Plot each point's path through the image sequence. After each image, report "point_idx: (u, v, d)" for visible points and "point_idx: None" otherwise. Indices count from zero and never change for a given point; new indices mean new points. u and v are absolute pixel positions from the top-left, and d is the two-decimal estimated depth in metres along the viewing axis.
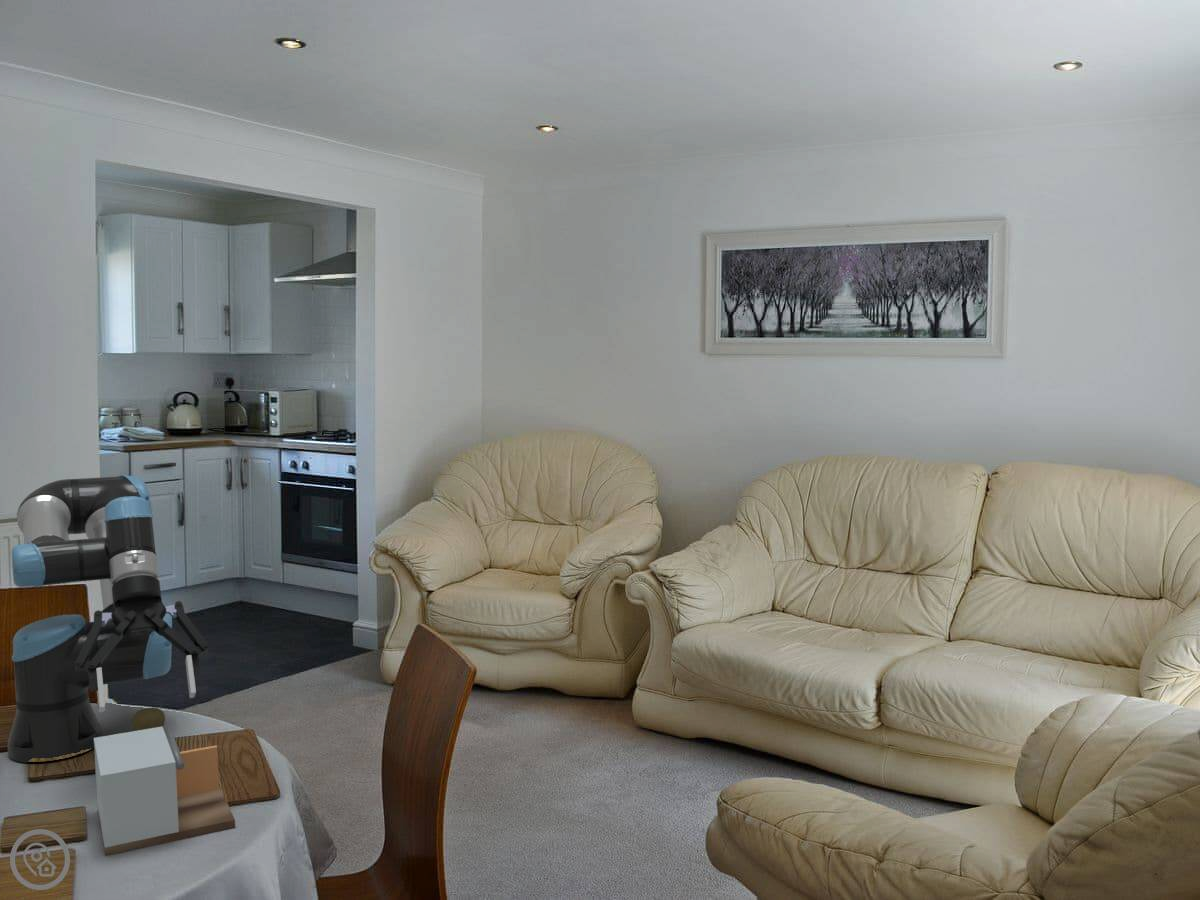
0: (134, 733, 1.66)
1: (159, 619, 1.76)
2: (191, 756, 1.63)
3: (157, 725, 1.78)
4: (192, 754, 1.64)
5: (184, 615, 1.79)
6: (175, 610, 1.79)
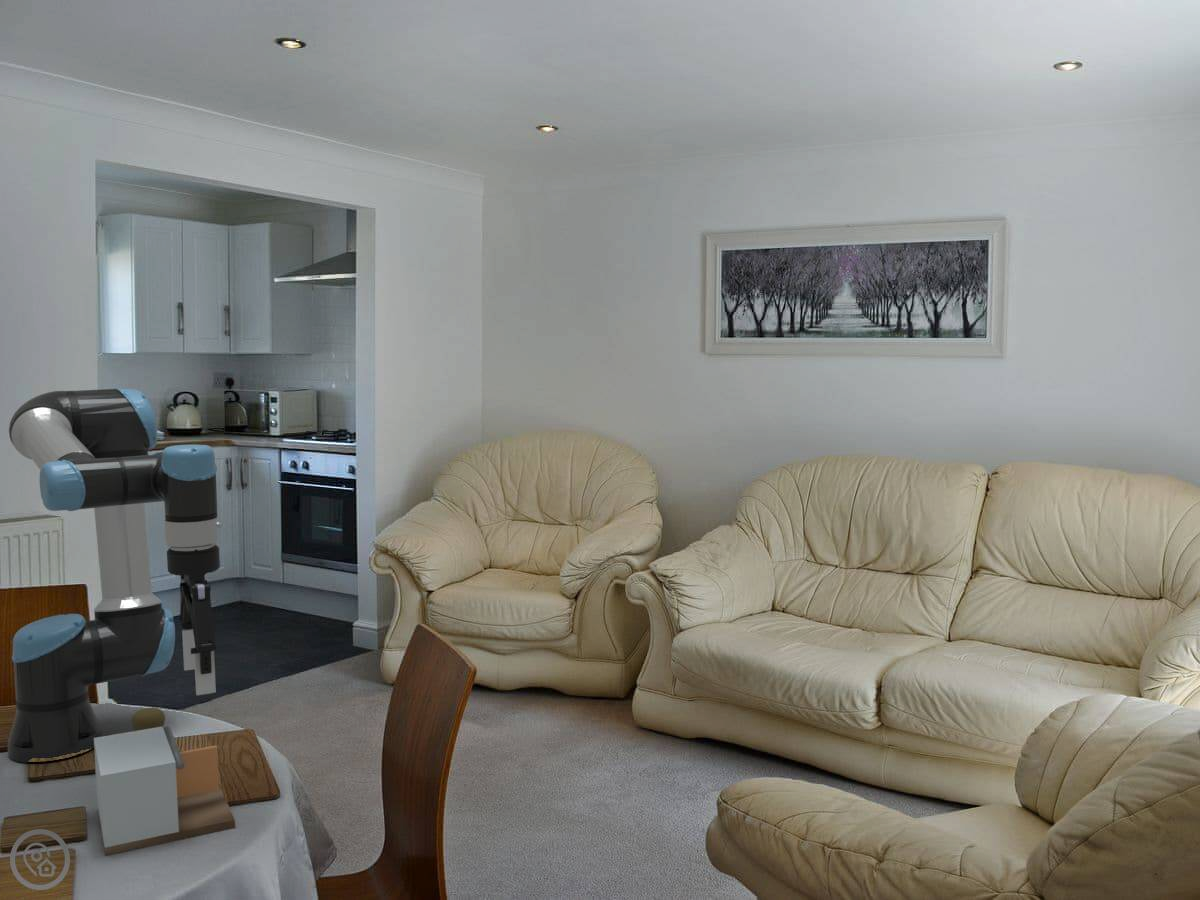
0: (134, 733, 1.66)
1: None
2: (191, 756, 1.63)
3: (157, 725, 1.78)
4: (192, 754, 1.64)
5: None
6: None
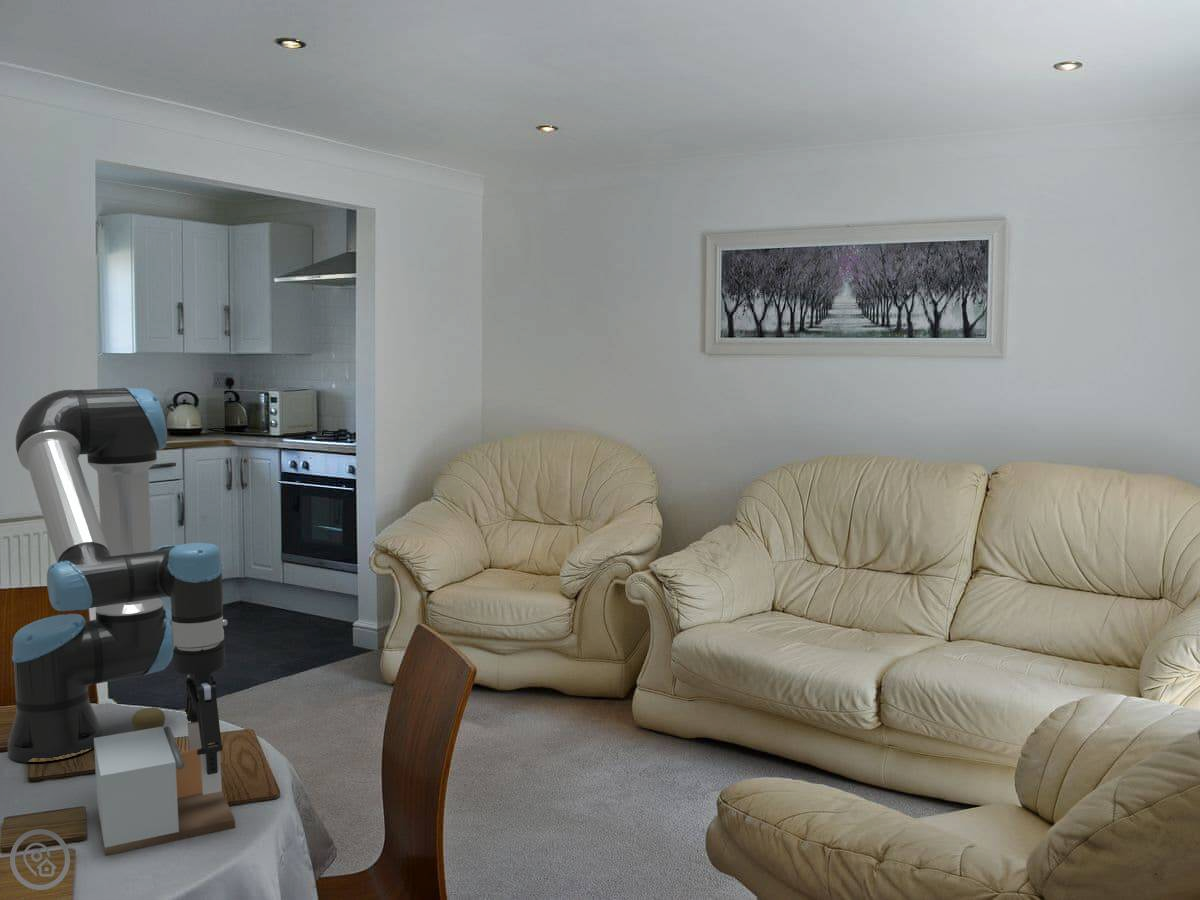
0: (134, 733, 1.66)
1: None
2: (191, 756, 1.63)
3: (157, 725, 1.78)
4: (192, 754, 1.64)
5: None
6: None
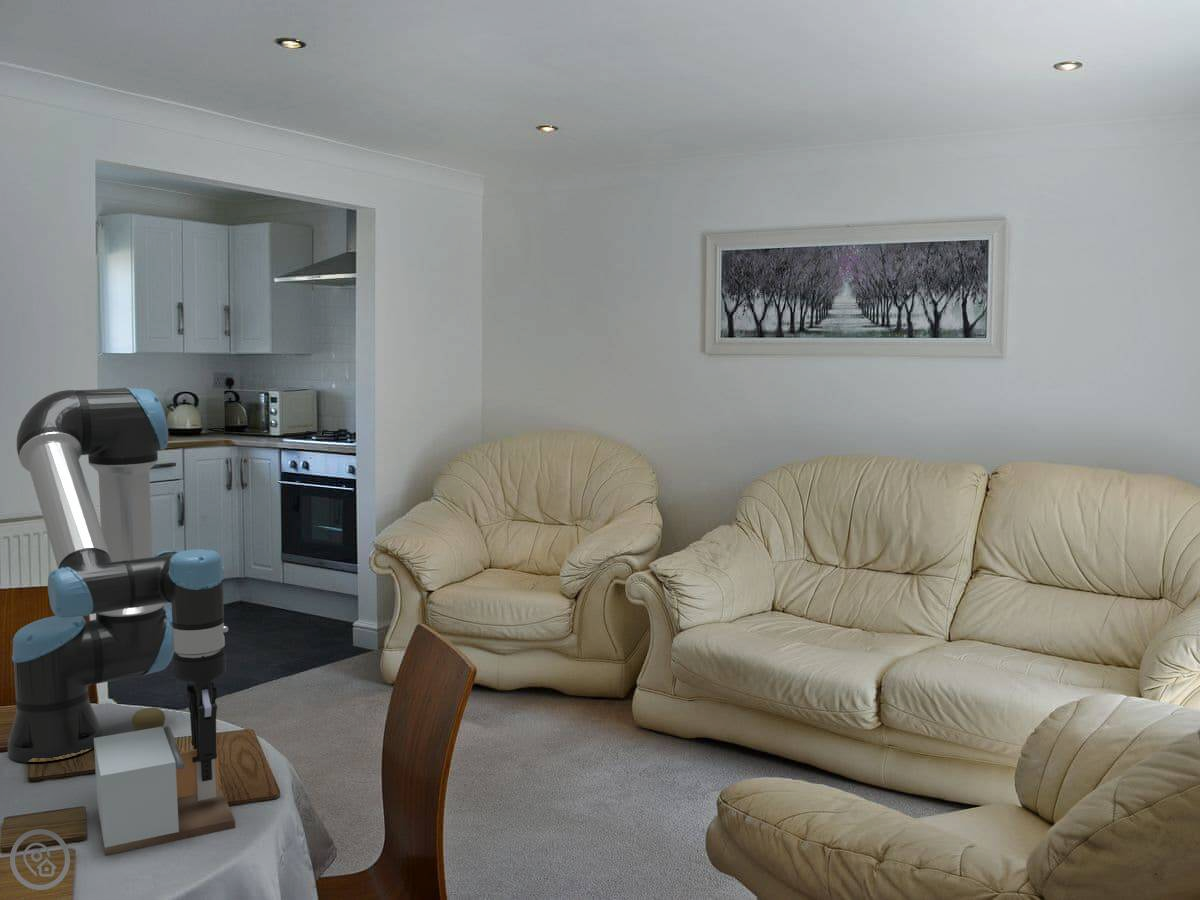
0: (134, 733, 1.66)
1: None
2: (191, 756, 1.64)
3: (157, 725, 1.78)
4: (192, 754, 1.64)
5: None
6: None
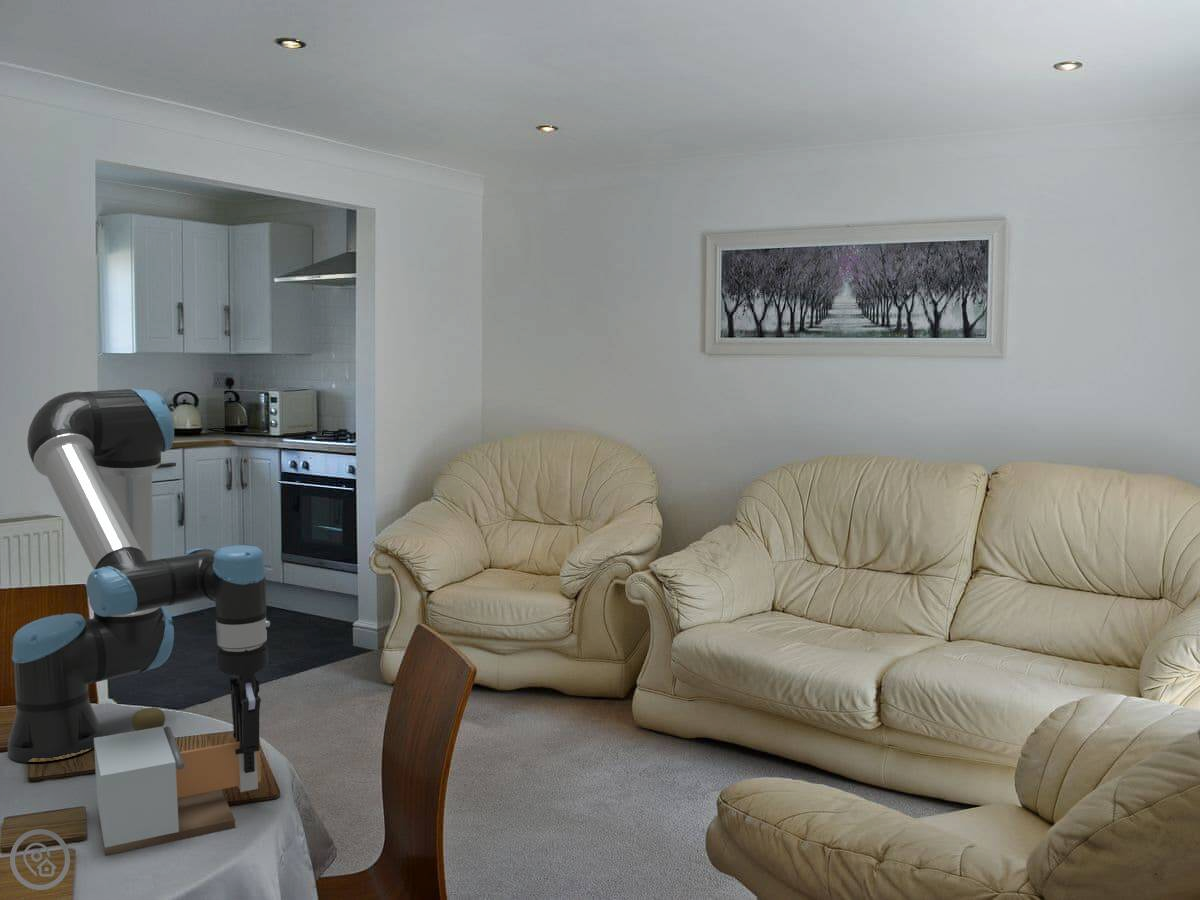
0: (134, 733, 1.66)
1: None
2: (234, 748, 1.67)
3: (157, 725, 1.78)
4: (235, 746, 1.67)
5: None
6: None
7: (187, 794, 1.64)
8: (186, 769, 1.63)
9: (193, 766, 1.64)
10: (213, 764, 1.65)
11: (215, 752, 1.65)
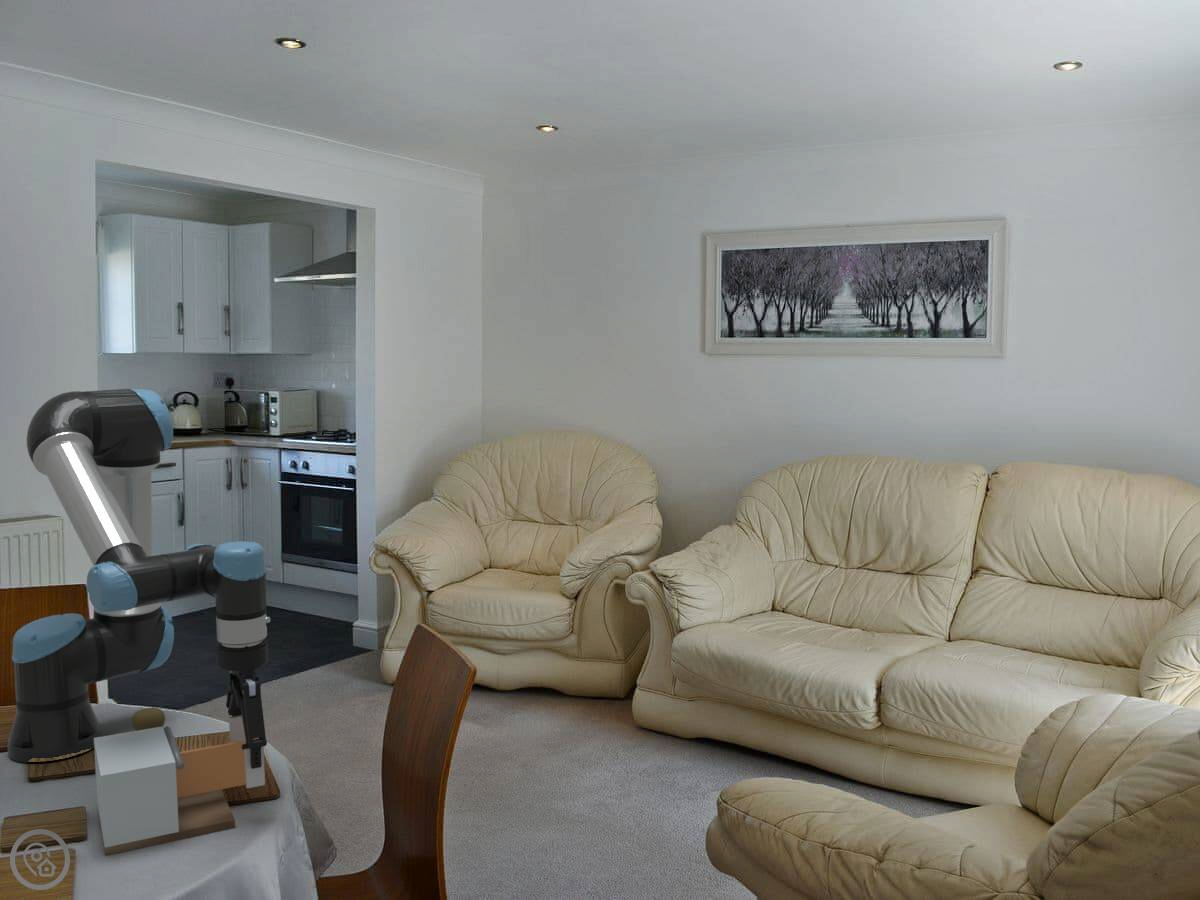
0: (134, 733, 1.66)
1: None
2: (234, 748, 1.67)
3: (157, 725, 1.78)
4: (235, 746, 1.67)
5: None
6: None
7: (187, 794, 1.64)
8: (186, 769, 1.63)
9: (193, 766, 1.64)
10: (213, 764, 1.65)
11: (215, 752, 1.65)
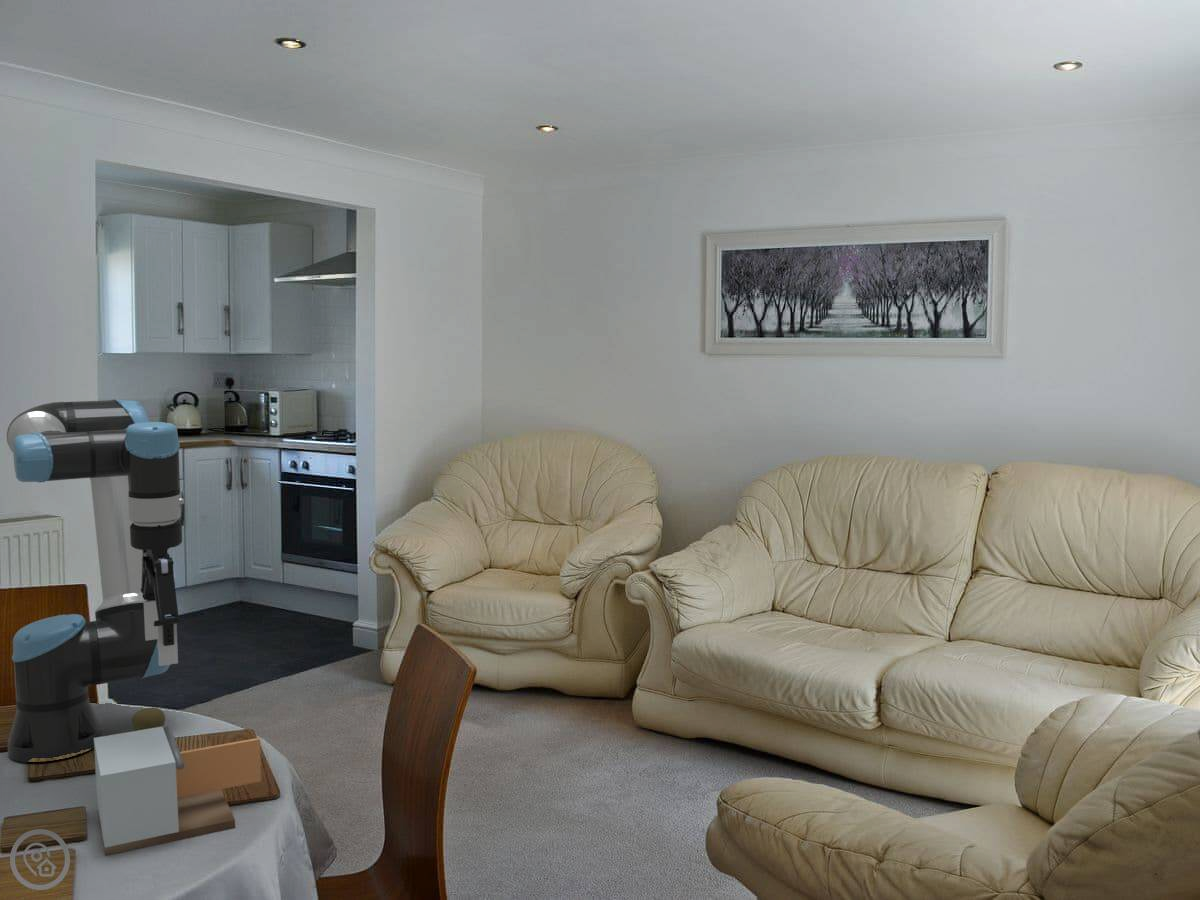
0: (134, 733, 1.66)
1: None
2: (234, 748, 1.67)
3: (157, 725, 1.78)
4: (235, 746, 1.67)
5: None
6: None
7: (187, 794, 1.64)
8: (186, 769, 1.63)
9: (193, 766, 1.64)
10: (213, 764, 1.65)
11: (215, 752, 1.65)
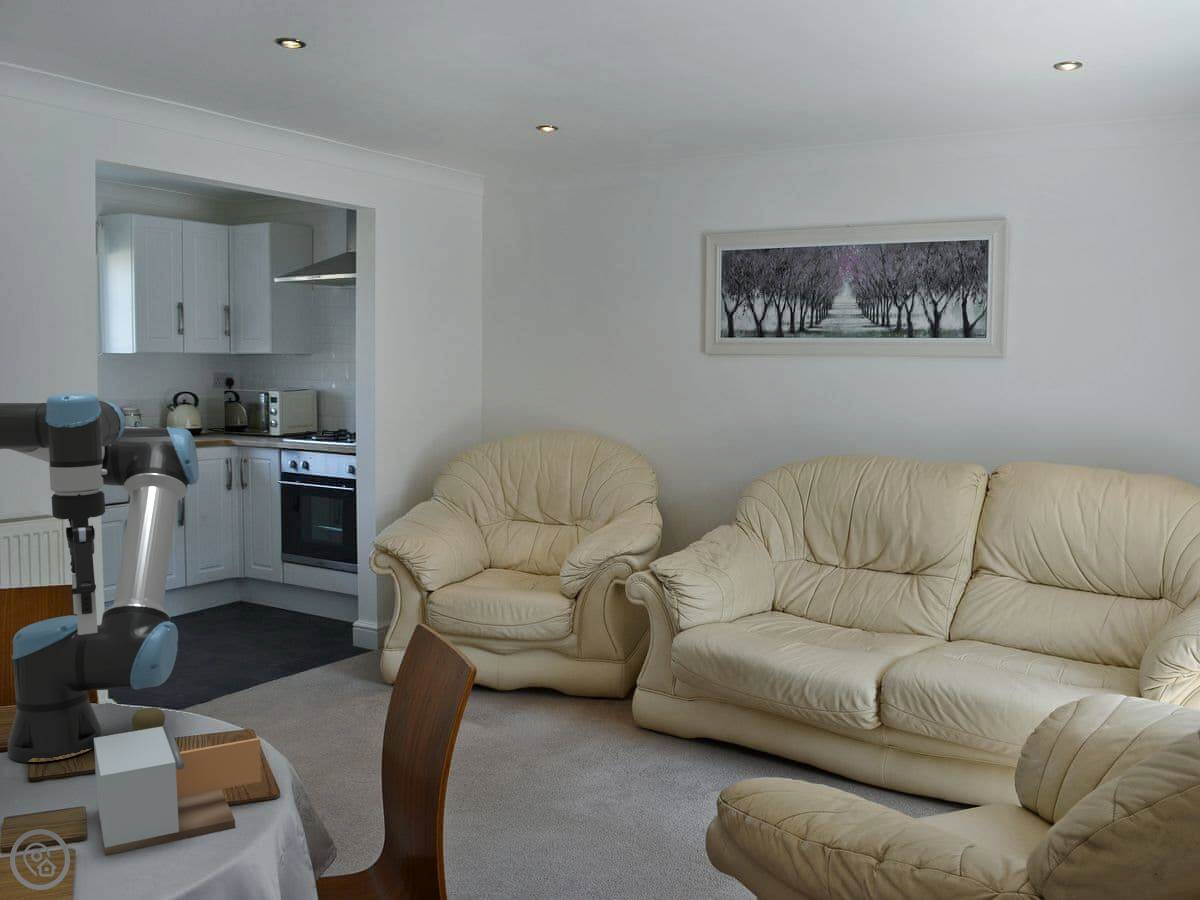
0: (134, 733, 1.66)
1: None
2: (234, 748, 1.67)
3: (157, 725, 1.78)
4: (235, 746, 1.67)
5: None
6: None
7: (187, 794, 1.64)
8: (186, 769, 1.63)
9: (193, 766, 1.64)
10: (213, 764, 1.65)
11: (215, 752, 1.65)
